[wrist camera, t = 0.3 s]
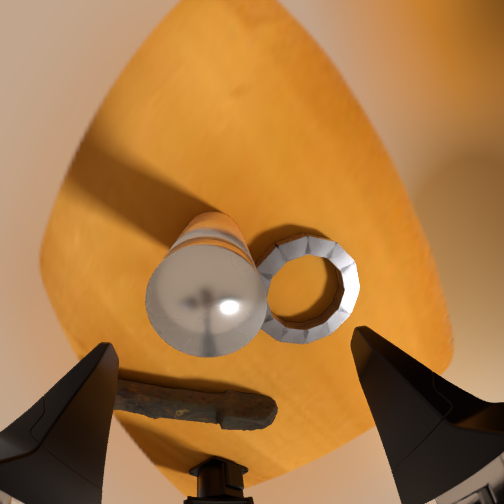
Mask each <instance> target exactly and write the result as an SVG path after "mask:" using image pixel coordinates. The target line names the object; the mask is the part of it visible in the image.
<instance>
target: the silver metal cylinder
mask: <svg viewBox="0 0 504 504" xmlns="http://www.w3.org/2000/svg"><path fill="white" fill-rule="evenodd" d="M145 303H146V310H147V314H148V317H149V320H150V322H151V324H152V326H153V328H154V329H155V331H156V332H157V333H158V335H159V336H160V337H161V338H162V339H163V340H164V341H165V342H166V343H168V344H169V345H170V346H172V347H173V348H175V349H177V350H179V351H181V352H183V353H186V354H189V355H193V356H197V357H218V356H223V355H227V354H230V353H233V352H235V351H237V350H239V349H241V348H242V347H244V346H245V345H246V344H248V343H249V342H250V341H251V340H252V339H253V338H254V337H255V336H256V334H257V333H258V331H259V330H260V328H261V326H262V324H263V322H264V319H265V316H266V310H267V298H266V292H265V288H264V285H263V283H262V280H261V278H260V276H259V273H258V271H257V269H256V266H255V264H254V262H253V259H252V257H251V254H250V252H249V250H248V247H247V245H246V243H245V240H244V238H243V235H242V233H241V231H240V228H239V226H238V225H237V223H236V222H235V221H234V220H233V219H232V218H231V217H229V216H228V215H226V214H224V213H220V212H215V211H210V212H205V213H202V214H199V215H198V216H196V217H195V218H193V219H192V220H191V221H190V222H189V224H188V225H187V227H186V228H185V229H184V231H183V232H182V233H181V235H180V236H179V237H178V239H177V240H176V242H175V243H174V244H173V246H172V247H171V248H170V250H169V251H168V253H167V254H166V255H165V257H164V258H163V260H162V261H161V263H160V264H159V265H158V267H157V268H156V270H155V271H154V273H153V274H152V276H151V278H150V280H149V283H148V286H147V290H146V301H145Z"/></svg>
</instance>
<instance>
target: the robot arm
mask: <svg viewBox="0 0 504 504" xmlns="http://www.w3.org/2000/svg"><path fill="white" fill-rule="evenodd" d="M351 351H352V354H353V358H354V362H355V365H356V369H357V373H358V377H359V381H360V384H361V386H362V389H363V392H364V394H365V397H366V399H367V402H368V405H369V407H370V410H371V413H372V416H373V418H374V421H375V424H376V427H377V429H378V432H379V435H380V438H381V441H382V444H383V447H384V449H385V452H386V455H387V458H388V461H389V464H390V467H391V470H392V474H393V477H394V480H395V484H396V487H397V490H398V493H399V496H400V500H401V503H402V504H425V503H427V502H429V501H431V500H433V499H435V500H436V503H437V504H504V402H499V403H491V402H486V401H483V400H481V399H479V398H477V397H475V396H473V395H472V394H470V393H468V392H466V391H464V390H462V389H461V388H459V387H457V386H455V385H454V384H452V383H450V382H449V381H447V380H445V379H444V378H442V377H441V376H439V375H438V374H436V373H435V372H432V370H430V369H429V368H427V367H426V366H424V365H423V364H422V363H420V362H419V361H417V360H416V359H414V358H413V357H411V356H410V355H408V354H407V353H405V352H404V351H402V350H401V349H400V348H398V347H397V346H395V345H394V344H392V343H391V342H389V341H388V340H386V339H385V338H383V337H382V336H380V335H379V334H377V333H376V332H374V331H373V330H372V329H370V328H369V327H367V326H359V327H356V328H355V329H354V332H353V336H352V340H351ZM118 367H119V359H118V356H117V354H116V352H115V349H114V347H113V345H112V344H111V343H109V342H101V343H100V344H98V345H97V346H96V347H95V348H94V349H93V350H92V351H91V352H90V353H88V354H87V355H86V356H85V357H84V358H83V359H82V360H81V361H80V362H79V363H78V364H76V366H74V367H73V368H72V369H71V370H70V371H69V372H68V373H67V374H66V375H65V376H64V377H63V378H61V379H60V380H59V381H58V382H57V383H56V384H55V385H54V386H53V387H52V388H51V389H50V390H49V391H48V392H47V393H46V394H45V395H44V396H42V397H41V398H40V399H39V400H38V402H36V403H35V404H34V405H33V406H32V407H31V408H30V409H28V411H26V412H25V413H24V414H23V415H21V416H20V417H19V418H18V419H16V420H15V421H14V422H13V423H11V424H10V425H9V426H8V427H6V428H5V429H4V430H3V431H1V432H0V504H101V500H102V486H103V476H104V467H105V459H106V451H107V444H108V437H109V430H110V425H111V419H112V414H113V408H114V403H115V397H116V387H117V376H118ZM247 472H248V468H245V467H243V466H240V465H237V464H234V463H231V462H229V461H226V460H223V459H221V458H218V457H211V458H209V459H208V460H206V461H204V462H203V463H201V464H199V465H198V466H196V467H194V468H192V469H191V470H189V474H190V475H193V476H196V477H197V497H192V496H188V497H187V500H184V504H254V502H253V498H252V497H246V498H244V496H243V489H244V484H243V476H242V475H243V474H245V473H247Z"/></svg>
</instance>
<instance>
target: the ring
mask: <svg viewBox="0 0 504 504" xmlns="http://www.w3.org/2000/svg"><path fill="white" fill-rule="evenodd" d="M275 244H276V245H275ZM275 244H274V243H273V244H272V245H271V246H270V247H269V248H268V249H267V250H266V252H265V253H264V254H263V255H262V256H261V257H260V258H259V259H258V260H257V261H256V262H255V266H256V269H257V271H258V273H259V276H260V278H261V280H262V283H263V285H264V288H265V292H266V298H267V294H268V290H269V286H270V282H271V278H272V277H273V276H274V275H275V274H276V273H277V272H278V271H279V270H280V269H281V267H282V266H283V265H284V264H285V263H286V262H287V261H290V260H293V259H296V258H299V257H302V256H304V255H307V254H309V255H314V256H319V257H324V258H327V259H328V260H329V261H330V262H331V263H332V264H333V265H334V266H335V269H336V273H337V278H338V283H339V285H338V289H337V292H336V295H335V298H334V301H333V303H332V304H331V305H330V306H329V307H328V308H327V309H326V310H325V311H324V312H323V313H322V314H321V315H320V316H319V317H316V318H314V319H311V320H308V321H306V322H303V323H298V322H290V321H283V320H282V319H281V318H280V317H278V316H277V315H276V314H274V313H273V312H272V311H271V310H270V308H269V305H268V302H267V310H266V316H265V319H264V322H263V324H262V326H261V329H262V330H263V331H265V332H266V333H267V334H269V335H270V336H272V337H273V338H274V339H276V340H277V341H279V342H287V343H297V344H305V342H306V344H307V343H310V342H313V341H315V340H318V339H321V338H323V337H326V336H328V335H331V334H330V332H331V333H333V332H334V331H335V330H336V329H337V328H338V327H339V326H340V325H341V324H342V323H343V322H344V321H345V320H346V319H347V318H348V317H349V316H350V314H349V313H352V310H353V307H354V304H355V301H356V298H357V295H358V292H359V287H360V286H359V280H358V274H357V269H356V263H355V262H354V260H353V259H352V258H351V257H350V256H349V255H348V254H347V253H346V251H345V250H344V249H343V248H342V247H341V246H340V245H339V244H338V243H337V242H335V241H333V240H331V239H329V238H325V237H320V236H316V235H311V234H307V233H304V234H303V233H300V234H297V235H294V236H291V237H288V238H285V239H282V240H279V241H276V242H275Z"/></svg>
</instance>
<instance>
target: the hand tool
mask: <svg viewBox="0 0 504 504" xmlns="http://www.w3.org/2000/svg"><path fill="white" fill-rule="evenodd" d="M113 410H123V411H128V412H133V413H138V414H141V415H145V416H148V417H150V418H154V419H157V418H160V417H161V418H170V419H178V420H186V421H197V422H205V423H214V424H218V423H219V424H220V426H221V429H227V430H243V431H245V430H249V431H250V430H255V429H264V428H266V427H267V426H269V425H271V424H272V423H273V421H274V419H275V416H276V414H277V411H278V408H277V405H276V402H275V401H274V400H273V399H271V398H268V397H264V396H259V395H256V394H250V393H242V392H237V391H232V390H226V391H225V392H224V393H221V394H214V393H204V392H197V391H191V390H187V389H171V388H165V387H159V386H156V385H149V384H145V383H137V382H130V381H126V380H120V379H117V387H116V397H115V403H114V408H113Z"/></svg>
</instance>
